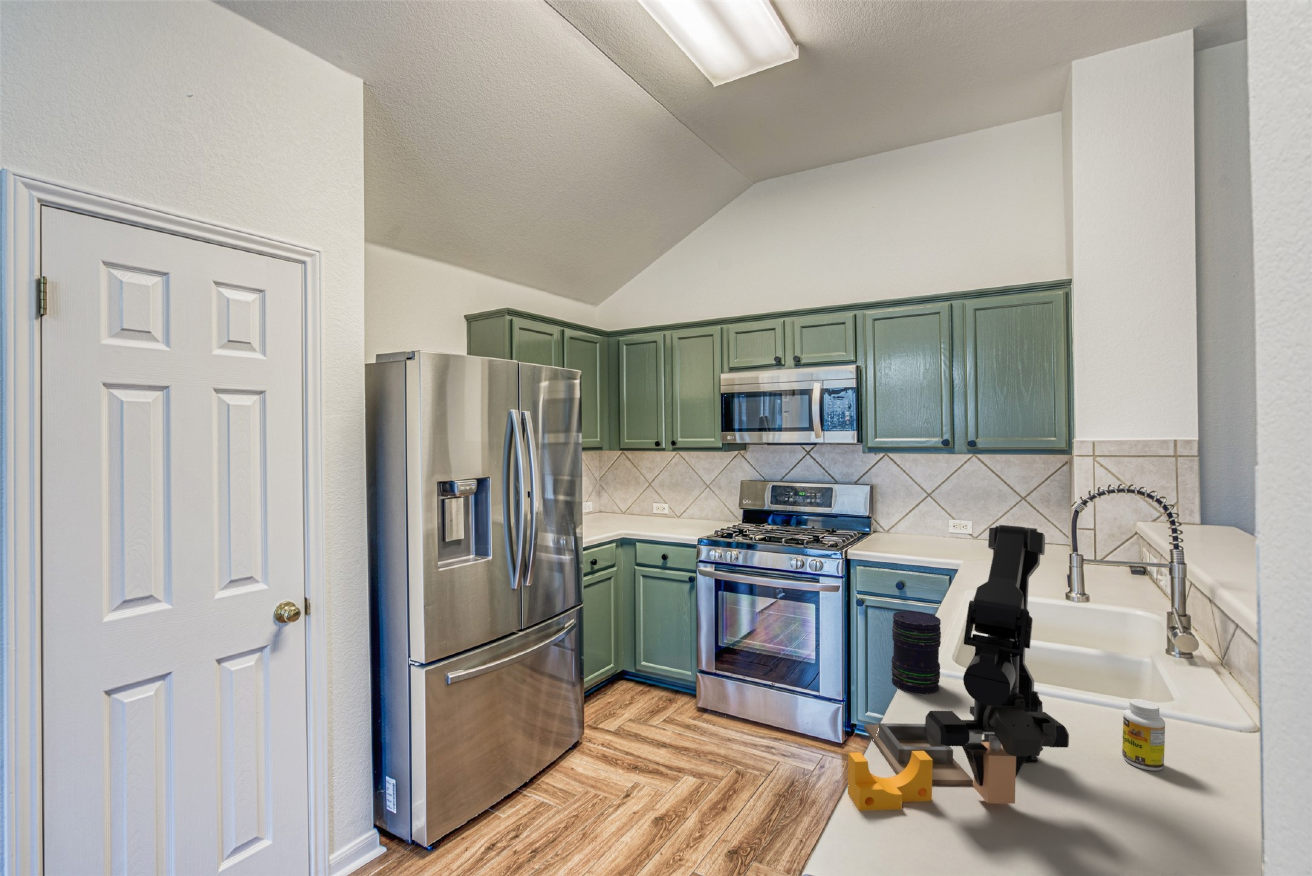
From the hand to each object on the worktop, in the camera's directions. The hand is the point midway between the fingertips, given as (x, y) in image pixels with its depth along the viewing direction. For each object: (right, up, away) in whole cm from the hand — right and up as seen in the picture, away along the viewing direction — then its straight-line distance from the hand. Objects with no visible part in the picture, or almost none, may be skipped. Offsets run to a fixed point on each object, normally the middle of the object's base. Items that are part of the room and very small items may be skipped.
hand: (993, 784), depth 92 cm
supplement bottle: (+32, -4, +12) cm, 34 cm away
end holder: (-6, -3, +14) cm, 16 cm away
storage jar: (+6, -3, +43) cm, 44 cm away
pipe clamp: (-15, -3, +1) cm, 15 cm away
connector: (0, -2, 0) cm, 2 cm away
